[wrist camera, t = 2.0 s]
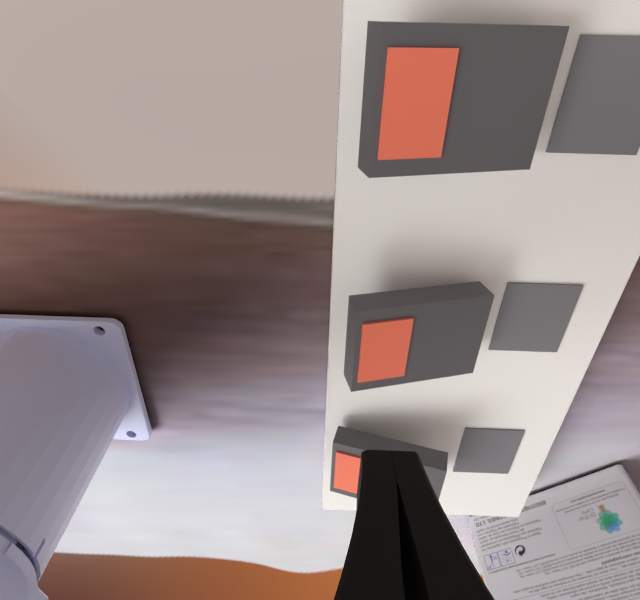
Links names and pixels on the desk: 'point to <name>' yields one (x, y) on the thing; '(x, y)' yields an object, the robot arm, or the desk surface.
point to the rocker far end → (355, 442)
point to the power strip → (494, 252)
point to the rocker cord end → (455, 96)
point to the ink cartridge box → (566, 542)
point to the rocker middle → (414, 334)
